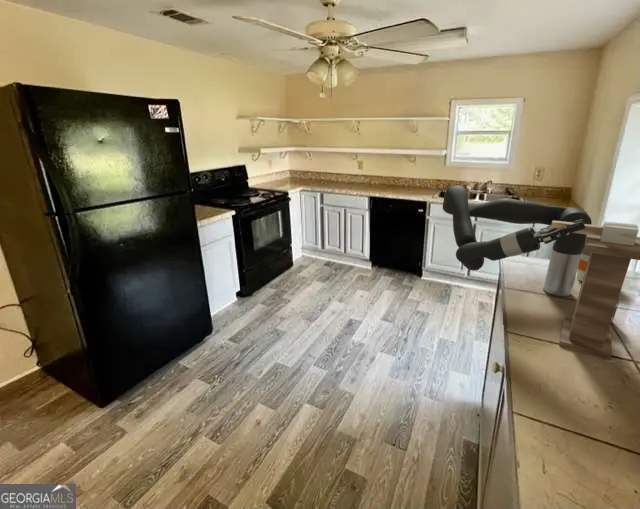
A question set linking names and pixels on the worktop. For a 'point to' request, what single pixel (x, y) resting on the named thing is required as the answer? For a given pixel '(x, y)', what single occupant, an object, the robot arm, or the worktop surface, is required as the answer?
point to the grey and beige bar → (607, 231)
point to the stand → (598, 297)
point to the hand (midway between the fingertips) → (583, 223)
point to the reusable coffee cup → (582, 265)
